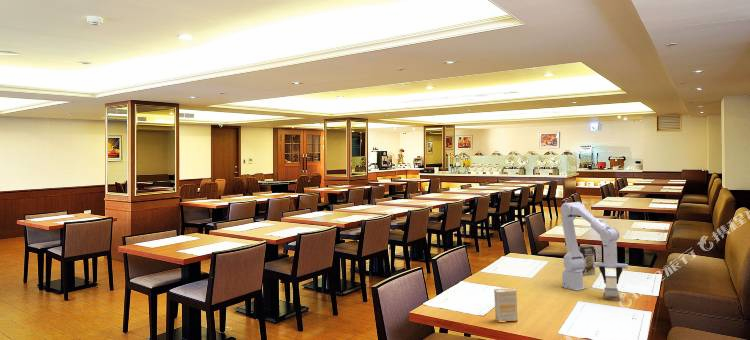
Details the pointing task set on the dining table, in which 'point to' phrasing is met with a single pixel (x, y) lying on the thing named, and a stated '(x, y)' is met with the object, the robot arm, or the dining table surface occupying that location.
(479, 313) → the dining table surface
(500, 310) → the supplement box
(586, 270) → the coffee box
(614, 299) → the walnut slab
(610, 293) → the grey slab
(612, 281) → the cream cube
